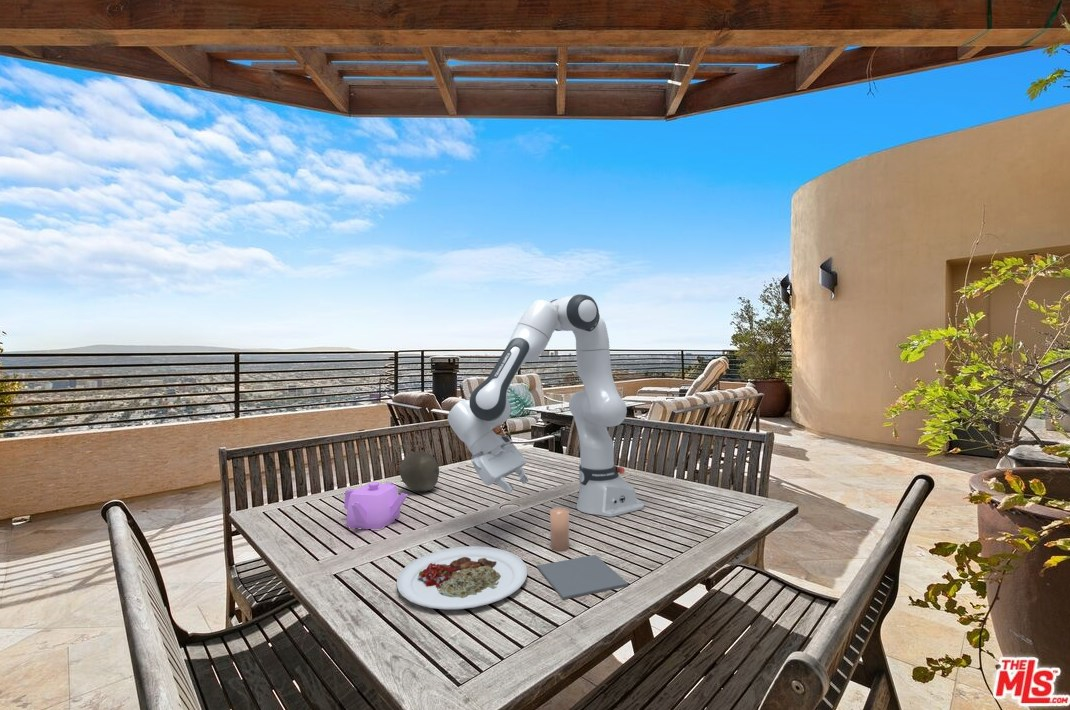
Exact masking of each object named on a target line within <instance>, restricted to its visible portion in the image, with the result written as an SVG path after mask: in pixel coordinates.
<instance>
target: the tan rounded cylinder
mask: <svg viewBox="0 0 1070 710" xmlns="http://www.w3.org/2000/svg"><path fill="white" fill-rule="evenodd" d="M549 514H550V515H549V516H550V518H549V520H550V521H549V524H550V526H549V527H550V549H551V550H553V551H554V552H555V551H556V552H566V551H567V550H569V549H570V510H569V508H566V507H563V506H562V507H558V506H557V507H552V508H551V509H550V510H549Z"/></svg>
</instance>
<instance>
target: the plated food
mask: <svg viewBox="0 0 1070 710" xmlns="http://www.w3.org/2000/svg"><path fill="white" fill-rule="evenodd" d="M527 576H528V567H527V565H526V563H525V562H524V561H523V560H522V558H520V557H519V556H518V555H516V554H514V553H512V552H510V551H507V550H504V549H502V548H501V549H500V548H496V547H491V546H481V545H480V546H478V545H469V546H467V545H466V546H459V547H458V546H456V547H449V548H443V549H440V550H436V551H433V552H430V553H428V554H424V555H422V556H420V557H418V558H415V559H414V560H413V561H412V562H410V563H408V564H407V565H405V567H404V568H402V570H401V571H400V572H399V574H398V575H397V578H396V579H397V580H396V587H397V591H398V592H399V593H400V595H401V596H402V597H403V598H404V599H406V600H408V602H411V603H412V604H416V605H419V606H421V607H424V608H425V607H426V608H430V609H436V610H437V609H439V610H463V609H471V608H472V609H473V608H478V607H483V606H485V605H489V604H493V603H495V602H498V601H501V600H503V599H505V598H507V597H509V596H511V595H512V594H514V593H515V592H516V591H518V590H519V589H520V588H521V587H522V586H523V584H524V583H525V582H526V579H527Z"/></svg>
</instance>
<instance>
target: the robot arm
mask: <svg viewBox="0 0 1070 710" xmlns="http://www.w3.org/2000/svg"><path fill="white" fill-rule="evenodd" d="M598 306H599V305H598V304H597V302H596V301H595V299H594V298H593V297H592V296H589V295H587V294H580V293H579V294H575V295H574V294H573V295H571V294H570V295H567V296H566V295H565V296H563V297H560V298H556V299H553V300H550V301H548V300H545V299H536V300H534V301H533V302H532V303H531V304H530V305H529V306H528V308H527V309H526V310H525V311H524V312H523V315H522V316H521V317H520V318H519V321H518V322H517V325H516V327H515V328H514V330H513V332H512V334H511V336H510V339H509V341H508V343H507V345H506V347H505V348H504V350H503V352H502V354H501V355H500V357H499V358H498V361H497V362H496V364H495V365H494V367H493V368H492V370H491V372H490V374H489V375H488V376H487V378H486V379H485V380H484V381H483V382H482V383H480V384H479V385H478V386H477V387H475V388H474V390H473V391H472V392H471V395H470V397H469V399H464V400H459V401H457V402H456V403H455V404H454V405H453V406H452V407H451V409H449V413H448V414H447V422H448V424H449V425H450V427H451V429H452V430H453V432H454V434H455V435H456V436H457V437H458V439H459V440H460V441H461V442H463V443H464V444H465V446H467V449H468V451H469V452H470V453H471V457H470V458H471V460H470V461H471V463H472V465H473V468H474V469H473V470H475V472H476V474H477V475H478V477H479V478H480V480H481V481H482V483H484V484H485V485H486V486H487V487H488V486H491V485H493V484H496V486H498V487H500V488H501V489H502V490H504V491H505V492H506V493H507V494H510V493H512V492H513V491H514V489H515V487H514V486H513V485H512V483H508V482H507V481H506V480H505V478H506V477H508V476H510V475H512V474H514V473H515V474H516V475H518V477H519V482H521V483H522V485H525V484H527V483H528V482H529V480H530V478H529V477H528V476H527V475H526V472H525V469H524V468H523V467H524V466H525V465H526V463H527V461H526V458H525V456H524V455H523V454H522V452H521V451H520V450H519V449H518V448H517V447H516V446H515V444H513V443H511V442H512V439H511V438H510V437H509V436H507V435H500V434H497V433H495V432H494V431H495V430H494V429H495V428H497V427H499V426H501V425H502V424H504V423H505V422H507V420H508V419H509V418H510V417H511V416H510V415H511V413H512V406H511V402H510V401H509V400H508V398H507V396H508V395H507V393H508V390H509V387H510V386H511V384H512V382H513V380H514V378H515V376H516V375H517V373H518V372H519V370H520V368H521V367H522V366H523V365H524V364H525V363H527V362H533V361H535V360H537V359H538V358H539V357H540V356H541V354H542V353H543V352H544V350H545V349H546V348H547V346H548V343H549V342H550V340H551V338H552V335H553V334H554V332H555V331H556V332H565V331H567V332H570V331H572V333H573V335H574V337H575V353H576V367H577V368H576V369H577V375H578V377H579V379H581V382H582V384H583V387H584V389H583V390H579V391H576V392H575V393H572V395H571V397H570V398H569V401H568V408H569V411H570V413H571V414H572V416H573V419H574V422H575V425H576V430H577V434H578V438H579V449H580V451H579V452H580V453H579V454H580V455H579V456H580V457H579V459H580V460H579V461H580V464H579V465H578V466H579V468H578V469H579V471H578V477H579V491H578V497H577V502H576V506H575V507H576V509H577V510H578V511H579V512H582V513H585V514H588V515H589V514H590V515H595V516H596V515H597V516H604V517H609V518H610V517H617V516H618V515H623V514H628V513H631V512H635V511H639V510H643V509H644V508H645V507H644V503H643V502H642V501H641V500H639V499H638V498H637V493H636V489H635V487H634V486H632V485H631V484H630V483H629V482H627V481H626V479H624V478H622V476H620V474H621V475H623V474H624V473H625V471H626V470H625V468H624V467H621V466H617V465H615V462H614V461H615V458H614V457H615V455H614V454H615V452H614V451H615V450H614V448H615V447H614V441H613V439H612V437H611V436H610V434H609V432H608V428H609V427H610V428H611V427H616V426H620V425H621V424H622V423H623V422H624V421H625V419H626V417H627V413H628V410H627V409H628V408H627V405H626V402H625V401H624V399H622V397H621V396H620V394H619V392H618V390H617V386H616V383H615V380H614V378H613V372H612V364H611V350H610V341H609V333H608V328H607V325H606V322H605V320H604V319H602V318H601V316H600V311H599V307H598Z"/></svg>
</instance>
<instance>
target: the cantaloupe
mask: <svg viewBox="0 0 1070 710" xmlns="http://www.w3.org/2000/svg"><path fill="white" fill-rule="evenodd" d="M439 467H440V466H439V464H438V463H437V460H436V458H435V457H434V456H433V455H432V454H430V453H429V452H426V451H416V452H411V453H409V454H408V455H406V456H405V457H404V458H403V460H402V461H401V463H400V465H399V475H400V478H401V480H402V482H403V484H405V486H407V487H408V488H409V489H411V490H413V491H415V492H419V491H425V492H428V491H430V490H432V489H433V488H434V487H435V486H436V485H437V483H438V480H439V477H440V476H439V475H440V468H439Z"/></svg>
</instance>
